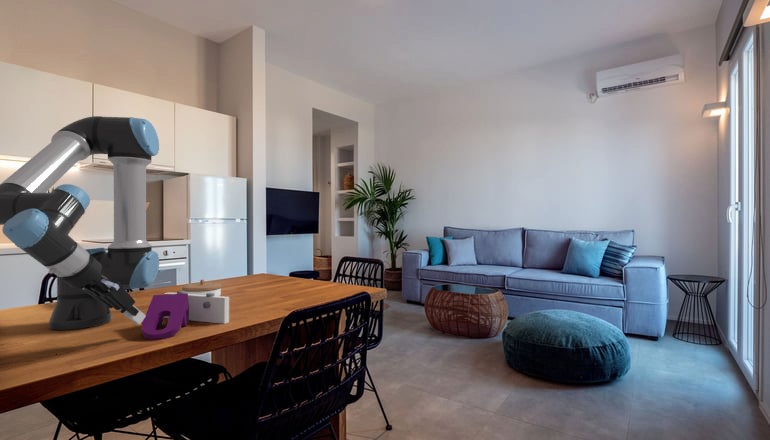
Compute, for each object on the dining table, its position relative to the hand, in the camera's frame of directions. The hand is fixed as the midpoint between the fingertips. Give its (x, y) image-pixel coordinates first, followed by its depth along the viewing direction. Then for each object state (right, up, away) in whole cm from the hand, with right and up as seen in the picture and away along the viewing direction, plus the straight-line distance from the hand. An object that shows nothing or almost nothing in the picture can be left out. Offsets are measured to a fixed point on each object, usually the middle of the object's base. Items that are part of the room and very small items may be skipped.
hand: (140, 319), depth 105 cm
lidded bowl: (+2, -5, +31) cm, 32 cm away
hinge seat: (+6, -5, +18) cm, 20 cm away
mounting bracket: (+3, -5, +6) cm, 9 cm away
